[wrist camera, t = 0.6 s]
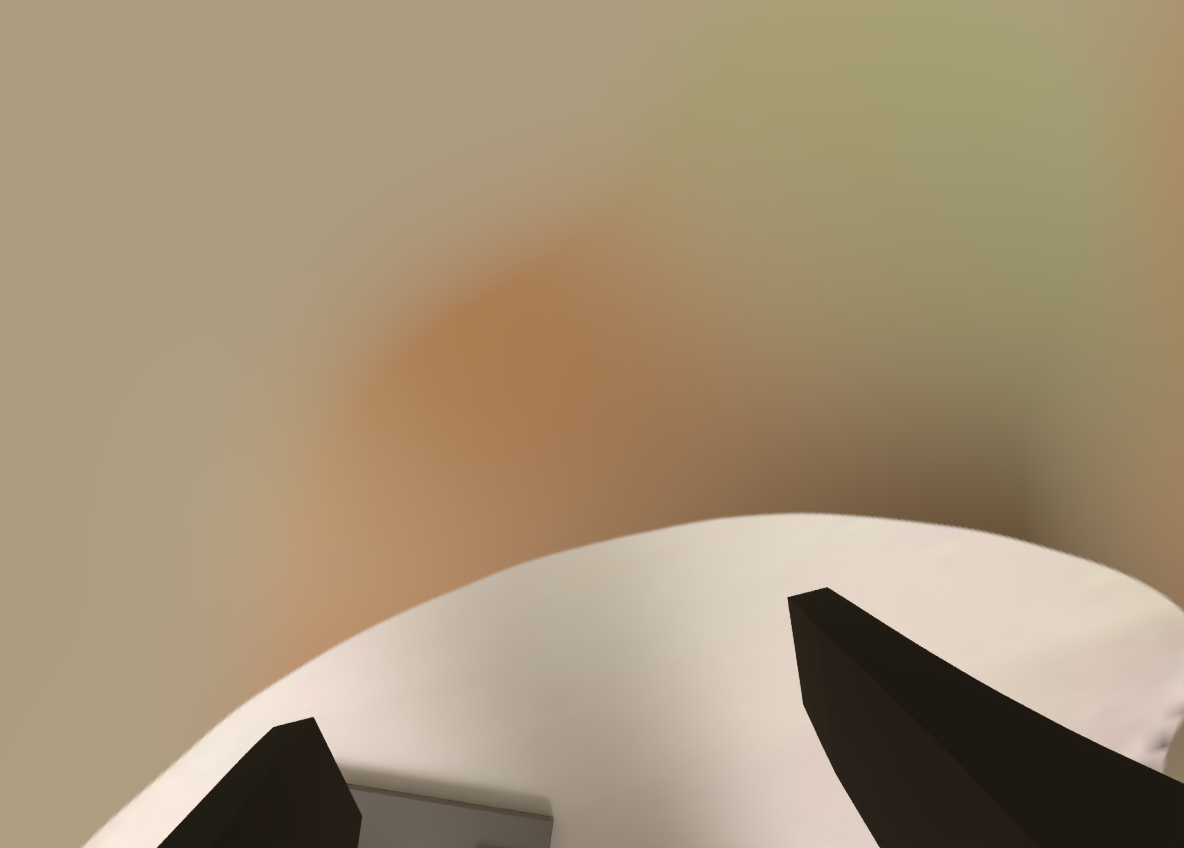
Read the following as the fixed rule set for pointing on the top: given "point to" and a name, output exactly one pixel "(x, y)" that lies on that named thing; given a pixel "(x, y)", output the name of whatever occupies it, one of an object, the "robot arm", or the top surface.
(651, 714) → the top surface
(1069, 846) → the robot arm
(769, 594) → the top surface
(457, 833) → the mat
